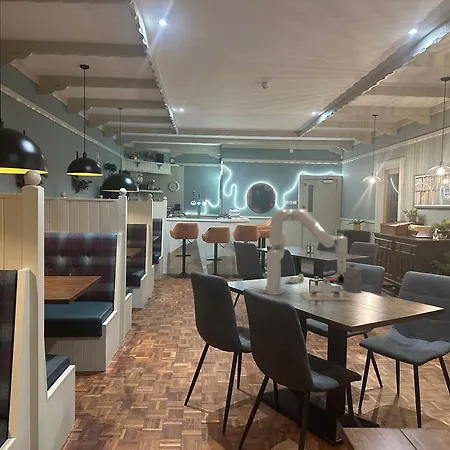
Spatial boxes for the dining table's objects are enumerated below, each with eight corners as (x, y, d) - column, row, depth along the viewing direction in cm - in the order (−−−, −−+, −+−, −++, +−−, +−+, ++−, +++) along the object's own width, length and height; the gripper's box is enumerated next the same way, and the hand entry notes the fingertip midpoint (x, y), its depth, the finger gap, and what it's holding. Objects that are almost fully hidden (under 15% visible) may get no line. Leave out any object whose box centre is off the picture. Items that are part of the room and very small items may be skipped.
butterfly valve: (290, 284, 332) (307, 280, 341) (284, 259, 336) (301, 256, 345) (284, 286, 340) (300, 282, 348) (277, 261, 343) (294, 258, 352)
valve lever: (323, 282, 288) (323, 276, 287) (322, 281, 291) (323, 275, 291) (343, 283, 285) (344, 277, 285) (343, 282, 288) (343, 276, 288)
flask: (340, 289, 317) (341, 262, 316) (346, 288, 320) (347, 262, 319) (356, 293, 304) (357, 265, 303) (362, 292, 307) (363, 264, 306)
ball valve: (305, 299, 281) (306, 282, 280) (300, 294, 297) (300, 278, 296) (350, 300, 282) (351, 282, 282) (342, 294, 298) (343, 278, 298)
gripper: (347, 256, 275) (347, 284, 275) (346, 253, 289) (346, 280, 290) (335, 256, 276) (335, 284, 277) (335, 253, 291) (334, 280, 292)
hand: (341, 282), depth 283 cm, fingers closed
